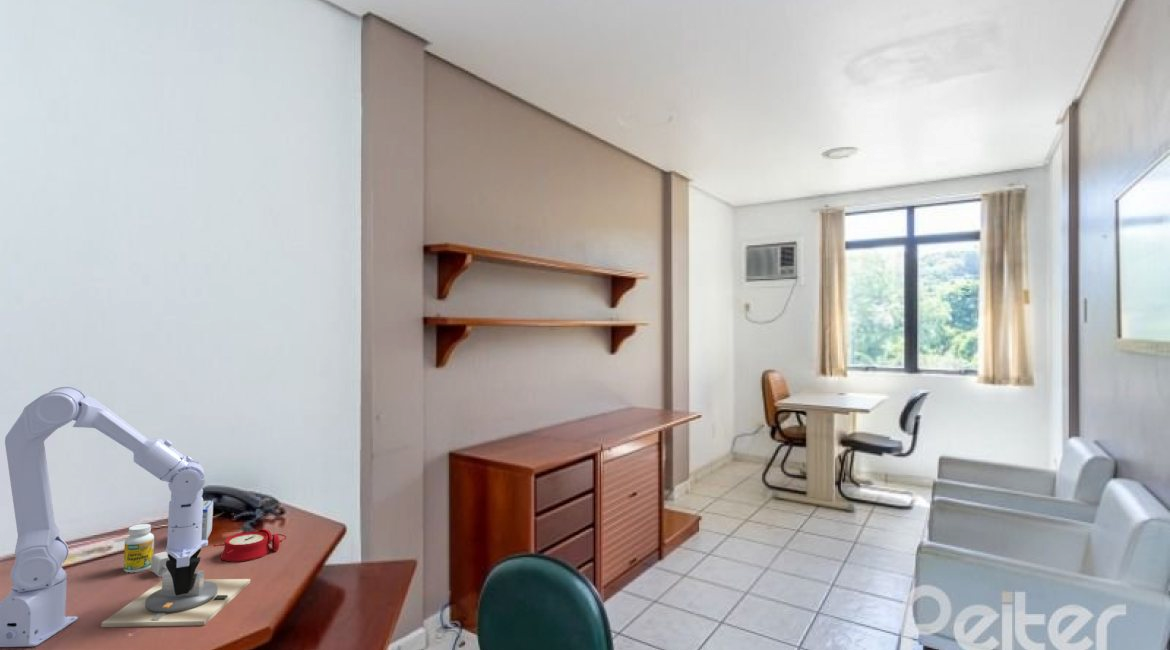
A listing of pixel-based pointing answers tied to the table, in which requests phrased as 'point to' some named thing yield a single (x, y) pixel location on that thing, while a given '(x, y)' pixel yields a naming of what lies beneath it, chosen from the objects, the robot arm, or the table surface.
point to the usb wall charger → (159, 563)
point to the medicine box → (207, 519)
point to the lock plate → (198, 615)
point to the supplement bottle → (138, 548)
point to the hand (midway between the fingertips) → (182, 589)
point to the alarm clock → (249, 545)
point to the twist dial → (171, 602)
